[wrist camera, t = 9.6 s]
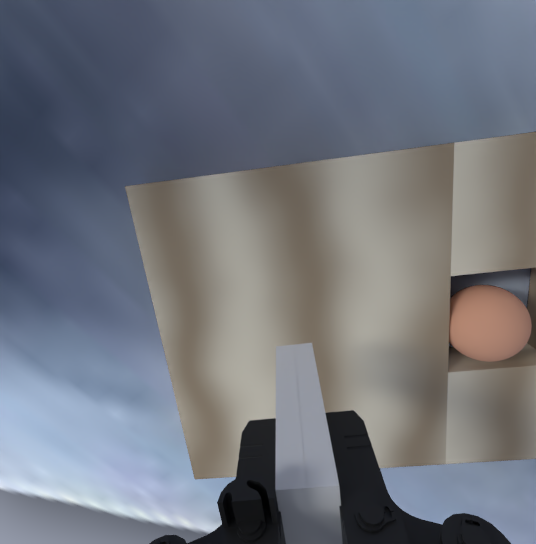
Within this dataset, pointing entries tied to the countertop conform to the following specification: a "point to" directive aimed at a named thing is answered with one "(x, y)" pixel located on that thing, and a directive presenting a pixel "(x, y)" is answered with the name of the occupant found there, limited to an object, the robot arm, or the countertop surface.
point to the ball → (488, 323)
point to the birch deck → (345, 296)
